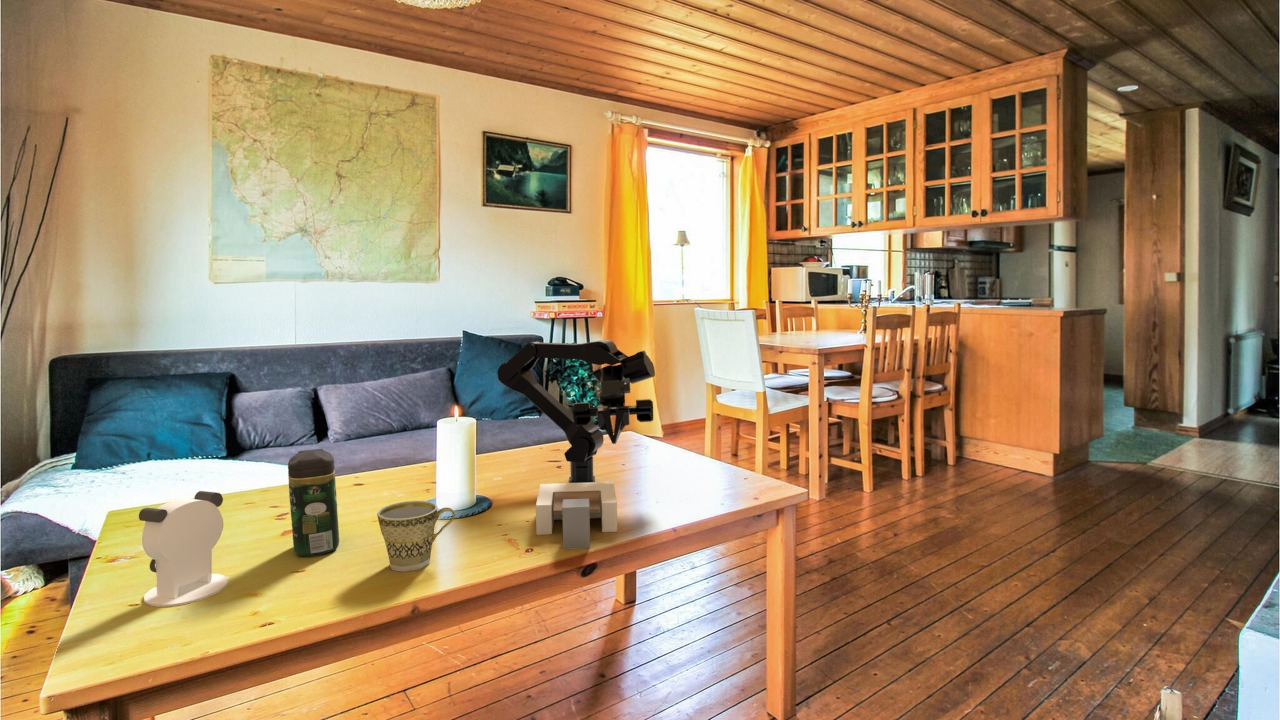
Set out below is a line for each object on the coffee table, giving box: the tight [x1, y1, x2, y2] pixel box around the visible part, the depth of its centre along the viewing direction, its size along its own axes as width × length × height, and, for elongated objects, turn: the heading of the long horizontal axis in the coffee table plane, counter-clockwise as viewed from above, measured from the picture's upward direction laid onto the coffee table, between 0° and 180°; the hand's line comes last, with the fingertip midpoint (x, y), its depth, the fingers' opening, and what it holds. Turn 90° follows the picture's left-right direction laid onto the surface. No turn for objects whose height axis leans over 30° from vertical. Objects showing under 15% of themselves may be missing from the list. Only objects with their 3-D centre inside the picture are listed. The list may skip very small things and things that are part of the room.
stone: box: [562, 499, 591, 550], centre depth 127 cm, size 5×5×8 cm
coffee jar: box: [287, 448, 340, 557], centre depth 125 cm, size 10×8×19 cm
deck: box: [535, 481, 618, 536], centre depth 139 cm, size 14×16×6 cm
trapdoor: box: [553, 491, 600, 514], centre depth 136 cm, size 9×9×1 cm
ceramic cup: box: [376, 500, 456, 573], centre depth 118 cm, size 13×10×10 cm
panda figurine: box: [138, 490, 229, 608], centre depth 108 cm, size 12×11×15 cm
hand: (614, 442), depth 151 cm, fingers closed
